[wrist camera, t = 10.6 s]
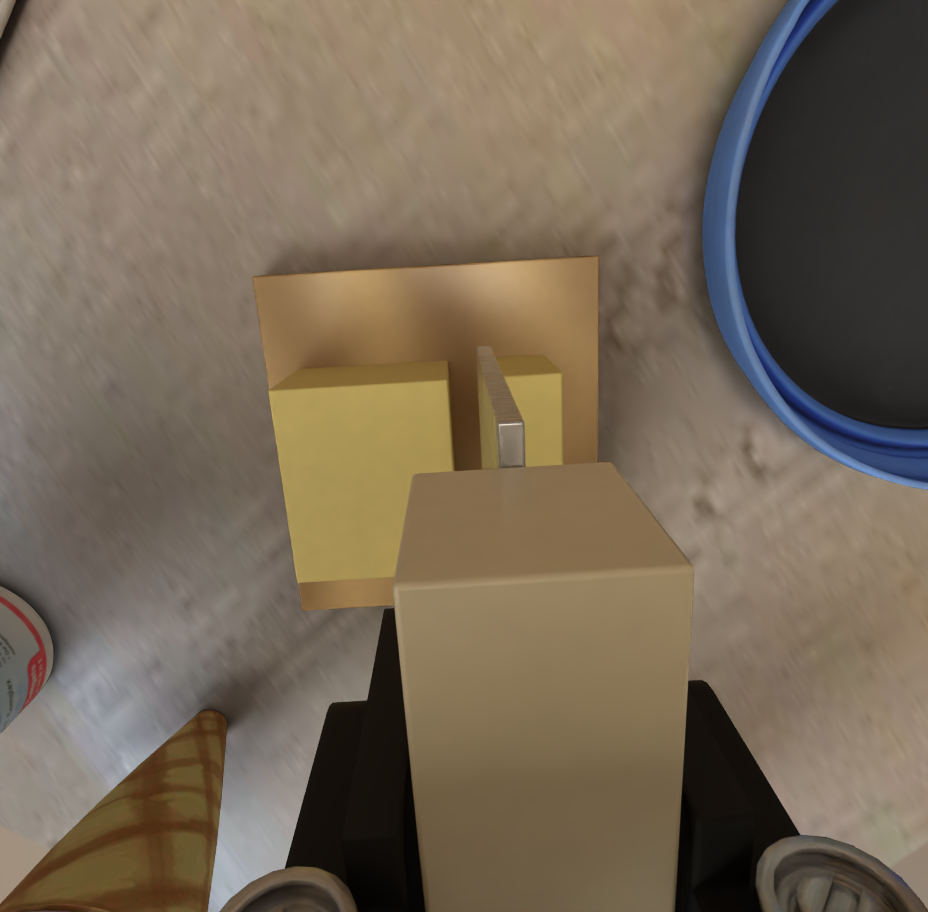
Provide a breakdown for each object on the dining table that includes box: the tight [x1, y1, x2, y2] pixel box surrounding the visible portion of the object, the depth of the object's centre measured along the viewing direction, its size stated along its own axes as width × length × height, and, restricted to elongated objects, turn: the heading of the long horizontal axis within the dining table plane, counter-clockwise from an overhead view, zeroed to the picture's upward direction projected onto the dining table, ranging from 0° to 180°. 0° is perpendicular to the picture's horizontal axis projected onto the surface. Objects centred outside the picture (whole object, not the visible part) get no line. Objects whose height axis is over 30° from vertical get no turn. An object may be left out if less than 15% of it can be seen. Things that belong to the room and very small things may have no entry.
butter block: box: [268, 360, 455, 583], centre depth 20 cm, size 5×6×4 cm
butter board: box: [253, 256, 599, 611], centre depth 22 cm, size 11×12×1 cm
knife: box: [392, 346, 694, 912], centre depth 10 cm, size 2×9×8 cm, turn 3°
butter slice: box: [495, 355, 563, 467], centre depth 20 cm, size 2×6×4 cm, turn 3°
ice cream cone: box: [0, 710, 227, 912], centre depth 19 cm, size 7×6×15 cm
